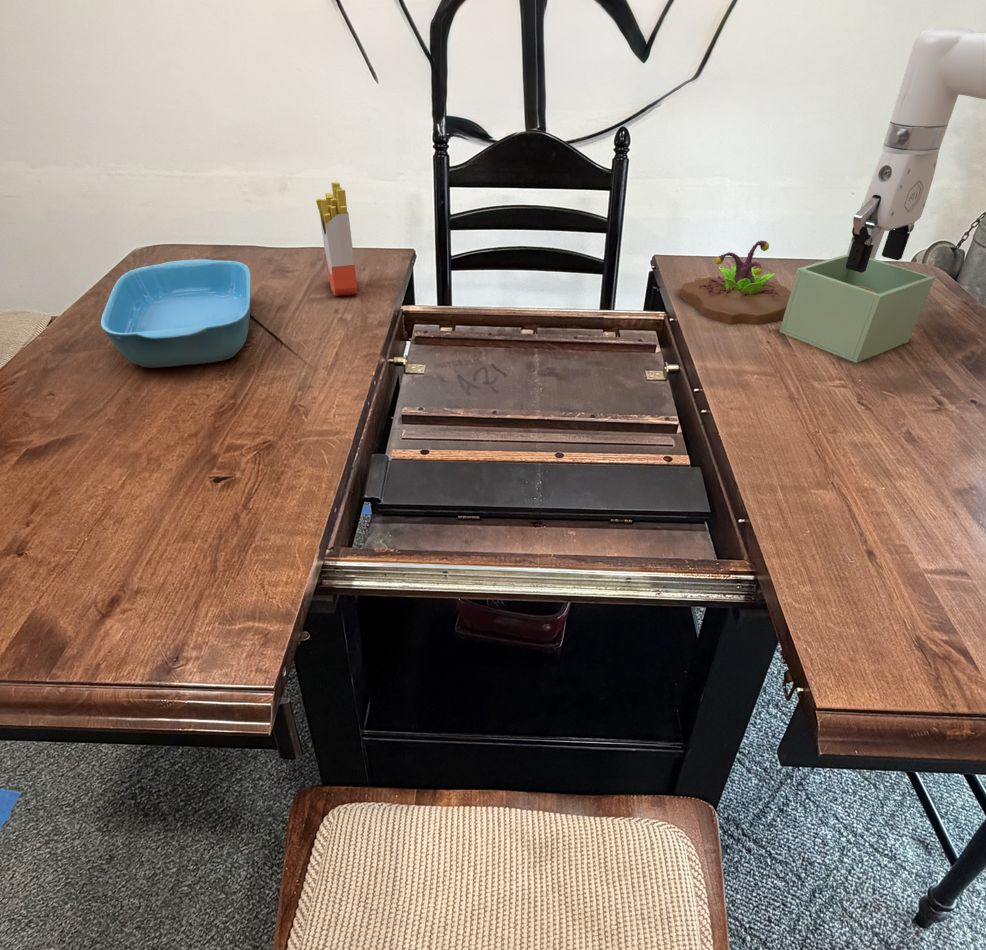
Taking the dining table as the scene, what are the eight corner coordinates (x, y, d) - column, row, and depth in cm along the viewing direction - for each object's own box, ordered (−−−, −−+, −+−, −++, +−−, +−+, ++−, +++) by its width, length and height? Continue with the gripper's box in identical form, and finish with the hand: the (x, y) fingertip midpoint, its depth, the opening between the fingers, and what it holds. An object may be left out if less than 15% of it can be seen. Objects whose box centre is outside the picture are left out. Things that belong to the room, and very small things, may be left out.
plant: (815, 321, 128) (836, 255, 120) (716, 331, 124) (732, 263, 116) (758, 283, 142) (774, 222, 134) (668, 291, 138) (679, 228, 131)
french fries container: (334, 303, 132) (319, 194, 120) (327, 283, 139) (312, 179, 127) (359, 300, 133) (346, 193, 121) (350, 281, 140) (338, 178, 128)
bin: (907, 344, 121) (935, 277, 113) (854, 366, 114) (880, 296, 107) (831, 316, 130) (852, 252, 122) (778, 334, 123) (797, 268, 116)
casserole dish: (134, 300, 132) (120, 259, 127) (257, 291, 136) (249, 251, 131) (106, 388, 106) (88, 341, 101) (260, 373, 110) (250, 328, 105)
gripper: (903, 149, 96) (862, 281, 107) (971, 134, 103) (925, 259, 115) (854, 142, 101) (819, 269, 112) (922, 127, 108) (883, 248, 119)
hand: (873, 264), depth 113 cm, fingers open, 9 cm apart
